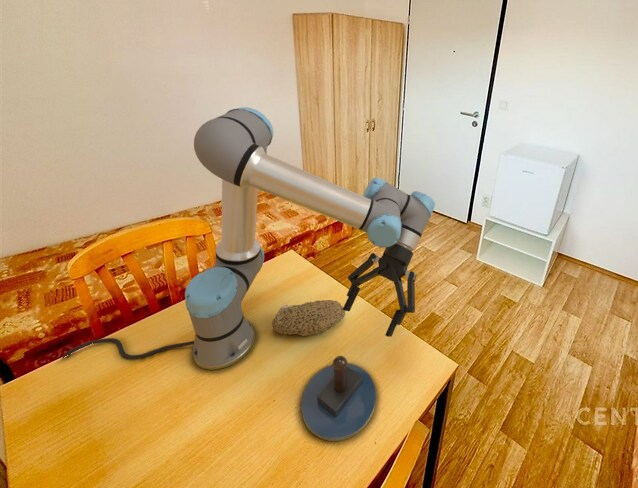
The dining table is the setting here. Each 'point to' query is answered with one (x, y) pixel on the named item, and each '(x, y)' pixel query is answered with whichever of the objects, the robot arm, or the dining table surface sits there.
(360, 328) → the dining table surface
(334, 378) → the stamp
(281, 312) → the sponge
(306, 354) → the dining table surface
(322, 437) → the plate
